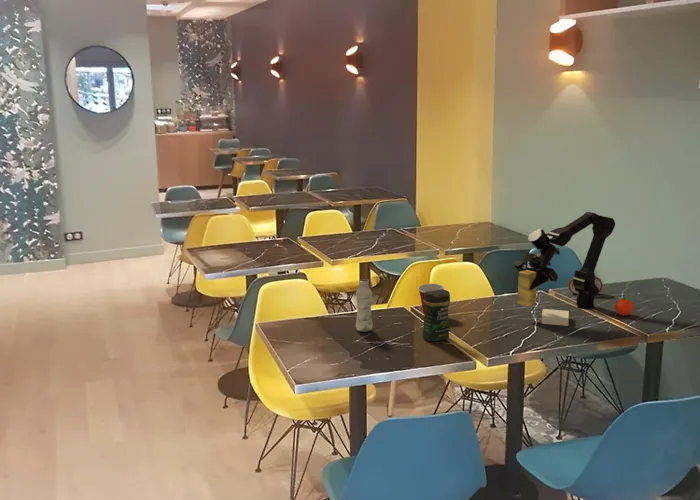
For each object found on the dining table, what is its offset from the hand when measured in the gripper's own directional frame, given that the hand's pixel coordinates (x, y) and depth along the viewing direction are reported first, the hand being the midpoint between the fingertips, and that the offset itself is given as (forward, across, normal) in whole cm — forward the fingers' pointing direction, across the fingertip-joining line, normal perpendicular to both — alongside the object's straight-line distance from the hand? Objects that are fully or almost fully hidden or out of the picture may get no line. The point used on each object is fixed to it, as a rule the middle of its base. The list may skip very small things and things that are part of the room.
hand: (524, 288), depth 282 cm
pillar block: (+4, 0, +6) cm, 7 cm away
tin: (-26, -8, +46) cm, 53 cm away
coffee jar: (+39, -6, -21) cm, 45 cm away
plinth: (+3, +8, +16) cm, 18 cm away
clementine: (-17, +21, +36) cm, 45 cm away
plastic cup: (+27, -27, -8) cm, 39 cm away
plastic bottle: (+51, -28, -32) cm, 66 cm away
